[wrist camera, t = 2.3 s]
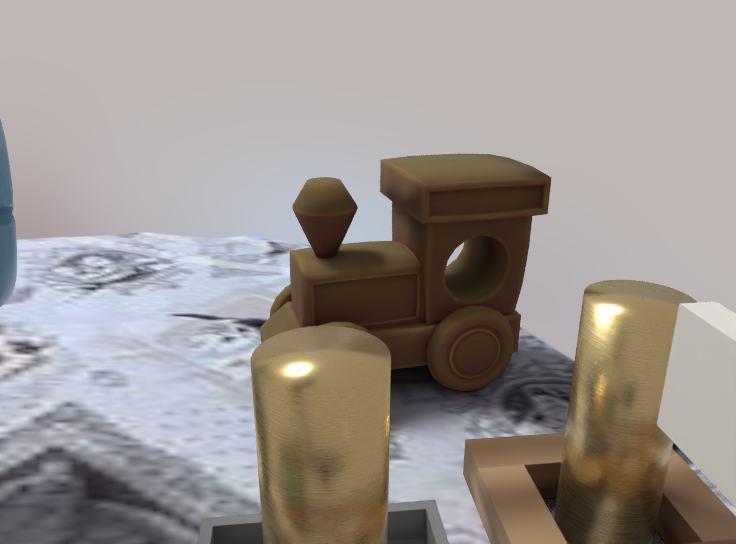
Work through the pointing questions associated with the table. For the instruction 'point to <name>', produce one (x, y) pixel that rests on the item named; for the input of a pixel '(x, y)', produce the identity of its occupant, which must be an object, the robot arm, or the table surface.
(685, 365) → the robot arm
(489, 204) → the wooden toy train
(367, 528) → the cylinder
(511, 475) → the wooden holder frame
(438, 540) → the grey square tray
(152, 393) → the table surface
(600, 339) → the cylinder
